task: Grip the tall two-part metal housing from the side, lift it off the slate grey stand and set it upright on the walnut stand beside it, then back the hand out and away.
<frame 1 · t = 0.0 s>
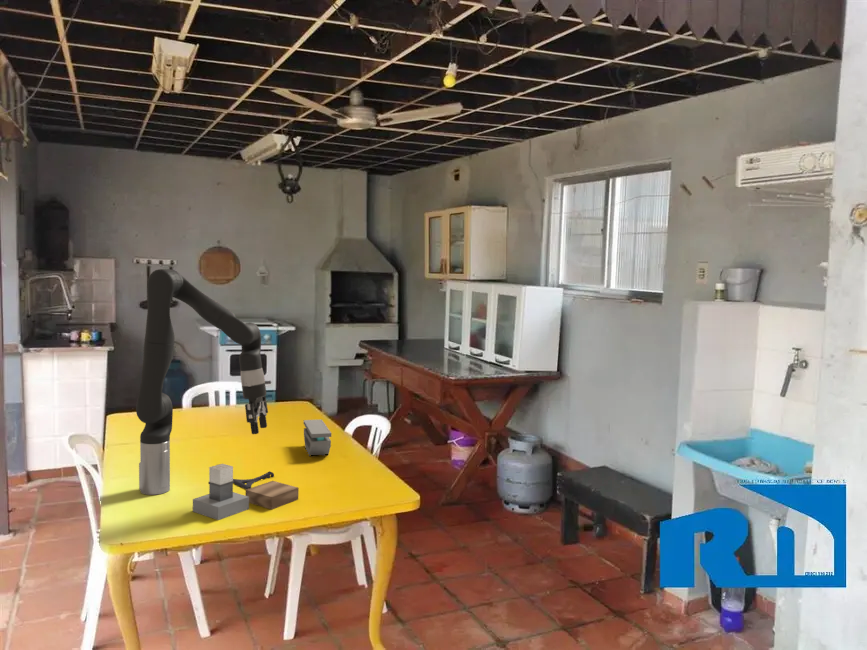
hand: (259, 430, 227), 22 cm above the table, tool pointing down, fingers open, 8 cm apart
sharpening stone: (316, 452, 285), on the table
housing: (221, 497, 214), point 4 cm above the table, touching stand a
stand b: (272, 500, 225), on the table
bracket: (255, 483, 245), on the table
stand a: (221, 510, 215), on the table
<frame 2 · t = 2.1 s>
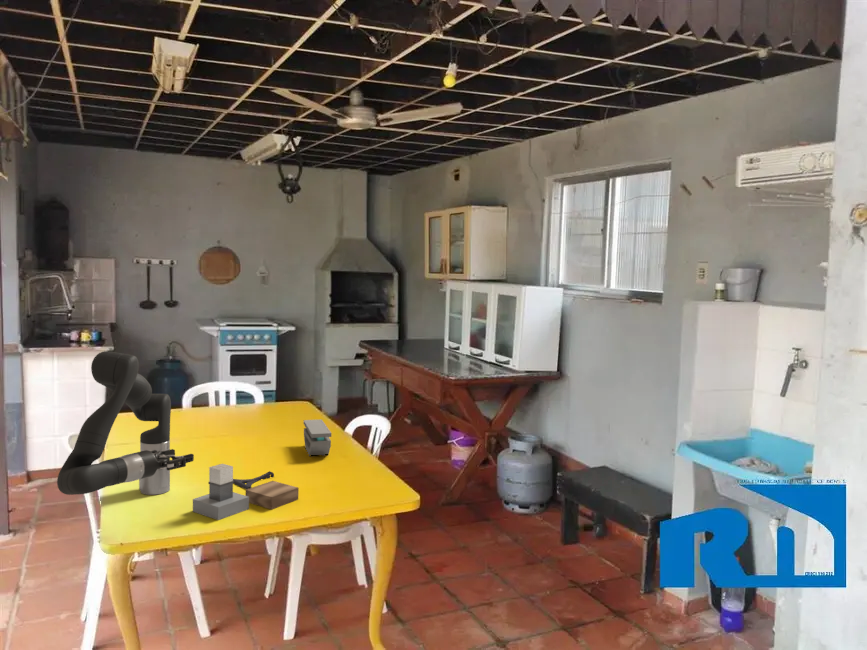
hand: (183, 454, 203), 20 cm above the table, tool horizontal, fingers open, 8 cm apart
nothing on the table moved.
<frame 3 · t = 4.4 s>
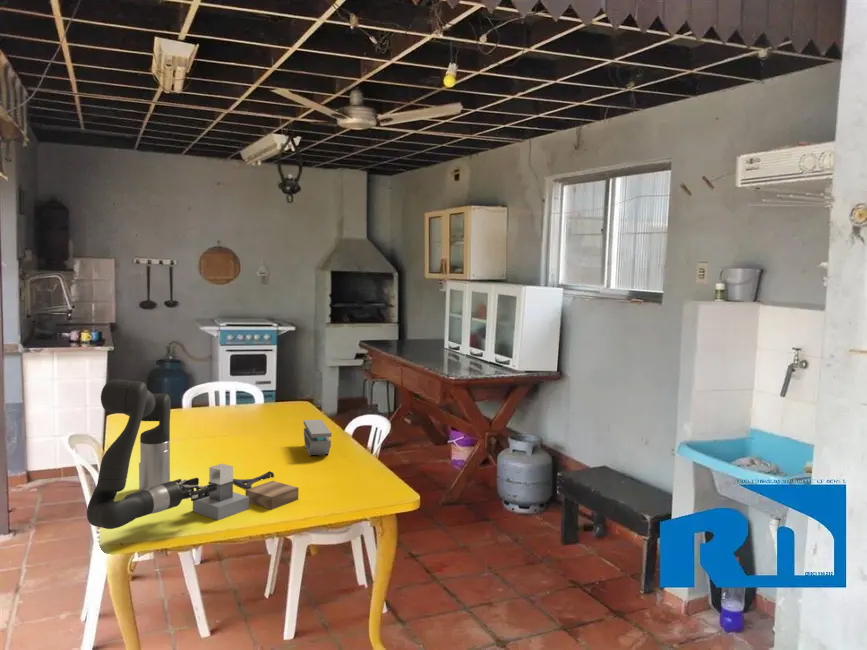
hand: (206, 483, 209), 10 cm above the table, tool horizontal, fingers open, 8 cm apart
nothing on the table moved.
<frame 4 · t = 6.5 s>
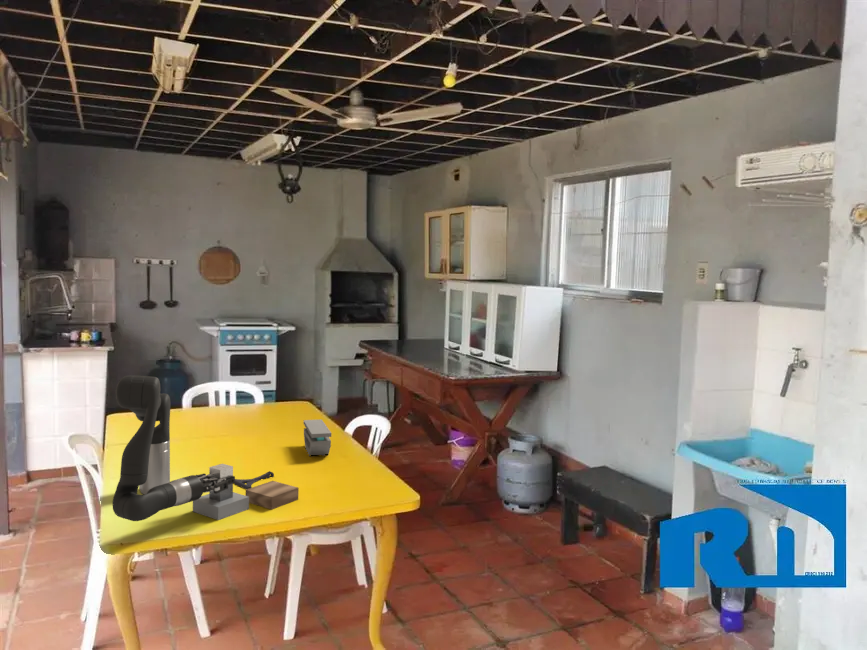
hand: (227, 477, 216), 10 cm above the table, tool horizontal, fingers closed on housing, 5 cm apart
housing: (221, 497, 214), point 4 cm above the table, touching gripper, stand a
everything else where it was.
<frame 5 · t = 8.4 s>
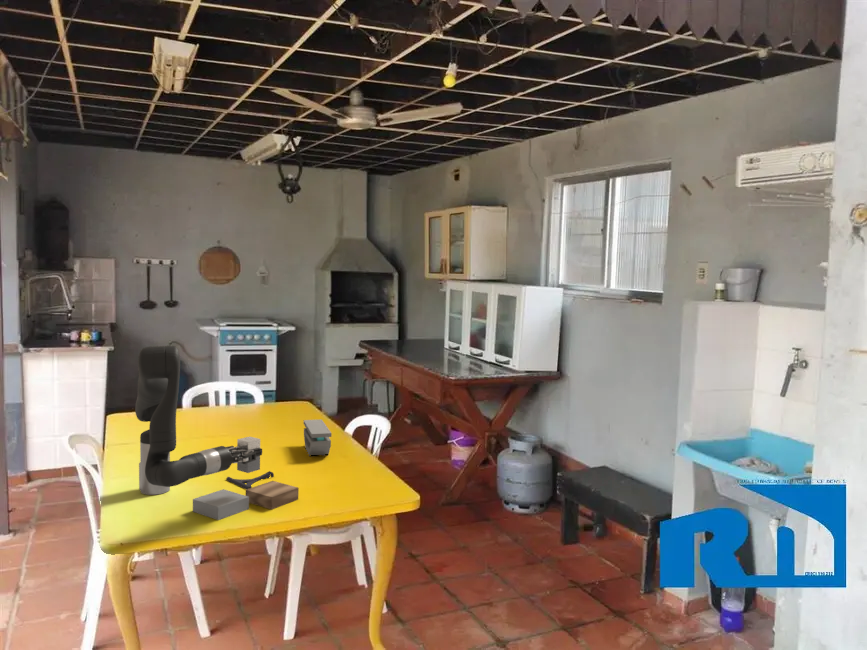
hand: (254, 449, 220), 18 cm above the table, tool horizontal, fingers closed on housing, 5 cm apart
housing: (248, 469, 219), point 12 cm above the table, touching gripper
everything else where it was.
when the fingers open (11 cm above the table, at t = 10.6 s): housing drops 1 cm, resting on stand b.
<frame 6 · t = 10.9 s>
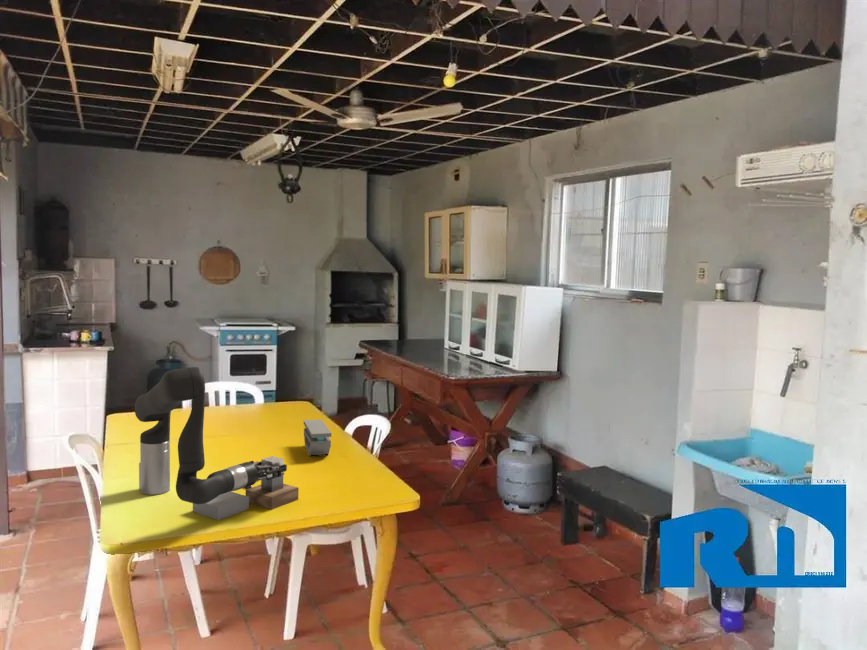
hand: (276, 465, 225), 12 cm above the table, tool horizontal, fingers open, 8 cm apart
housing: (272, 488, 224), point 4 cm above the table, touching stand b
everything else where it was.
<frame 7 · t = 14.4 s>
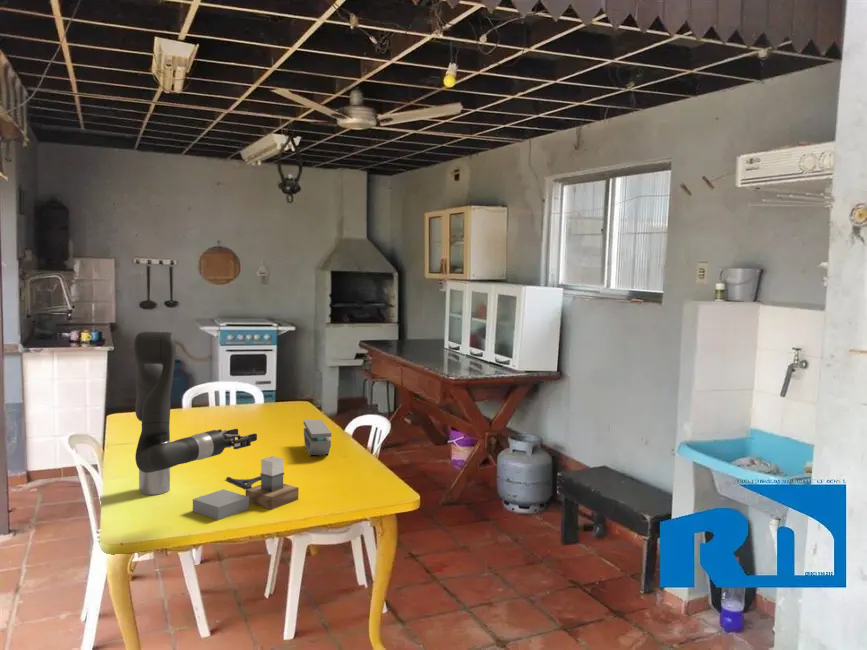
hand: (246, 434, 214), 24 cm above the table, tool horizontal, fingers open, 8 cm apart
nothing on the table moved.
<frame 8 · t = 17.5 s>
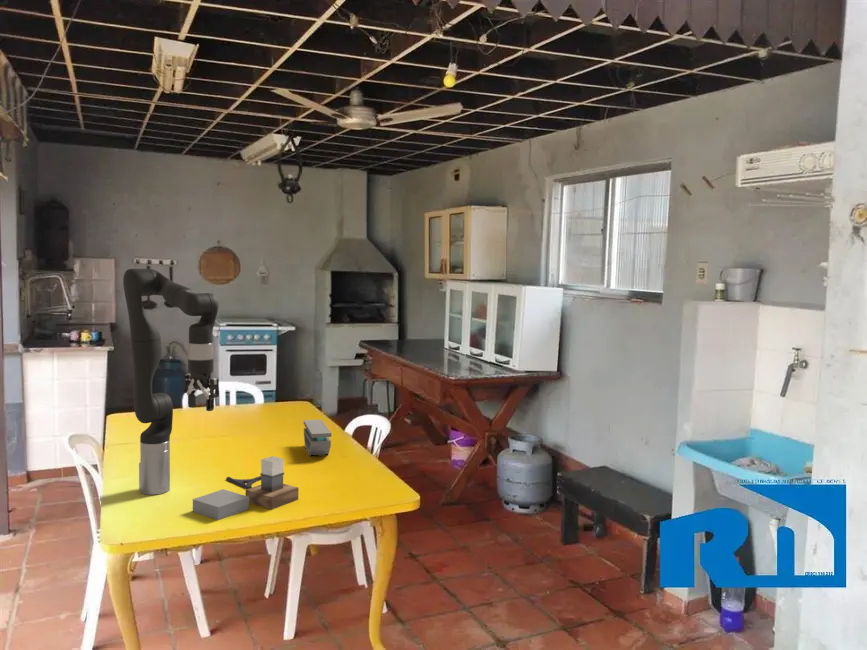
hand: (200, 408, 213), 32 cm above the table, tool pointing down, fingers open, 8 cm apart
nothing on the table moved.
at the end: housing inside the target area on the stand b (0.1 cm from its centre), point 4.0 cm above the stand b's base; housing tilted 0°; the gripper is holding nothing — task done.
